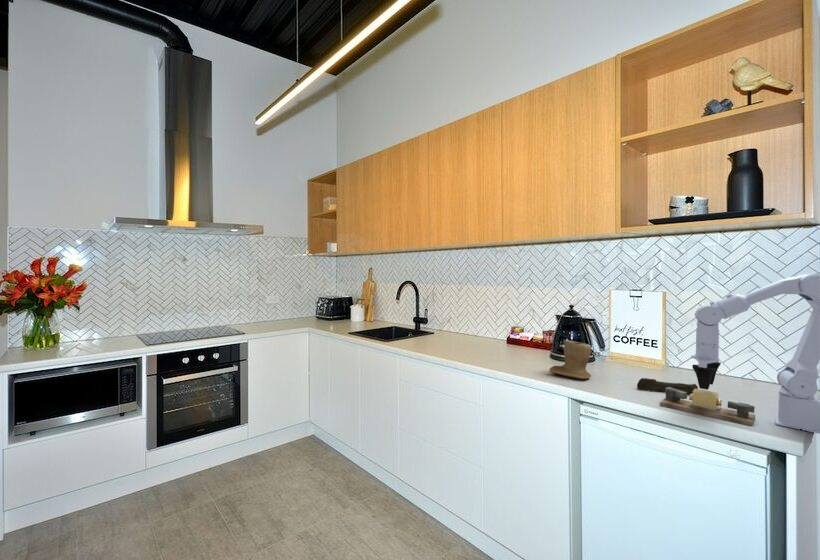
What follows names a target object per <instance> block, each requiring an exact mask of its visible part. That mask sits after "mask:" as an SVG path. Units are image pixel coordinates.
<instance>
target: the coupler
mask: <svg viewBox="0 0 820 560" xmlns="http://www.w3.org/2000/svg"><path fill="white" fill-rule="evenodd" d="M688 395H689V401H691V402H692V405H693V406H698V407H703V408H708V409H712V410H716V409H717V408H718V407H722V404H723V400H722V399H719V392H716V391H709V390H706V389H700V388H698V389H694V390H693V393H692V394H688Z"/></svg>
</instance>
